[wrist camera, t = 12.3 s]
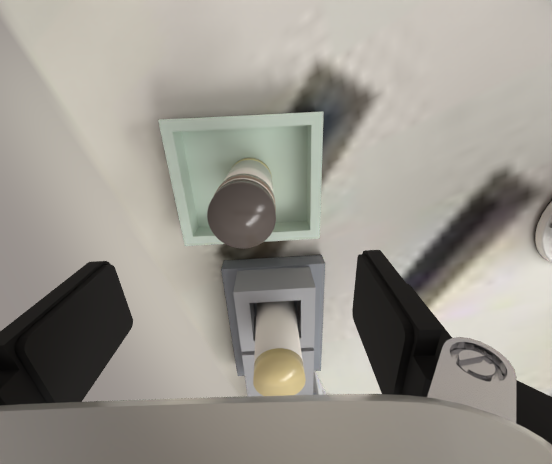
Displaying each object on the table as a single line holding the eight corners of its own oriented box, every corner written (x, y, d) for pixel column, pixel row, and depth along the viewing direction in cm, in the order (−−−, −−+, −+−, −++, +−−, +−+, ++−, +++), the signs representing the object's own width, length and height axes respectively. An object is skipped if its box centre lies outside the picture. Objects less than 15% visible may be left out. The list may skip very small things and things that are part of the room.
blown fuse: (271, 155, 26) (275, 181, 16) (273, 199, 28) (278, 247, 18) (226, 158, 26) (201, 185, 16) (231, 201, 28) (211, 251, 18)
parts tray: (316, 111, 25) (323, 111, 22) (314, 225, 30) (319, 238, 27) (171, 119, 25) (157, 119, 22) (193, 232, 30) (184, 246, 27)
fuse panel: (321, 255, 32) (333, 284, 26) (318, 358, 39) (326, 398, 34) (223, 260, 32) (215, 290, 26) (239, 363, 39) (234, 404, 34)
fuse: (292, 281, 31) (305, 361, 21) (293, 310, 33) (305, 397, 23) (255, 283, 31) (251, 365, 21) (258, 312, 33) (255, 400, 23)
